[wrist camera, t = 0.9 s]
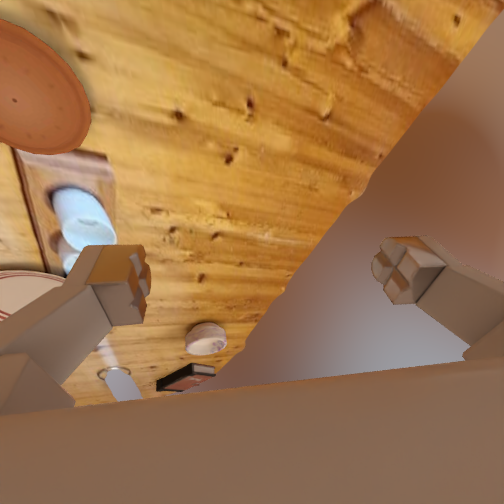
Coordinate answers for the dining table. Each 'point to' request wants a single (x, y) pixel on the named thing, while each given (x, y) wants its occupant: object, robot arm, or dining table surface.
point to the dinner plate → (23, 289)
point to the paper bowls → (205, 339)
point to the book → (185, 378)
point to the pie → (39, 96)
